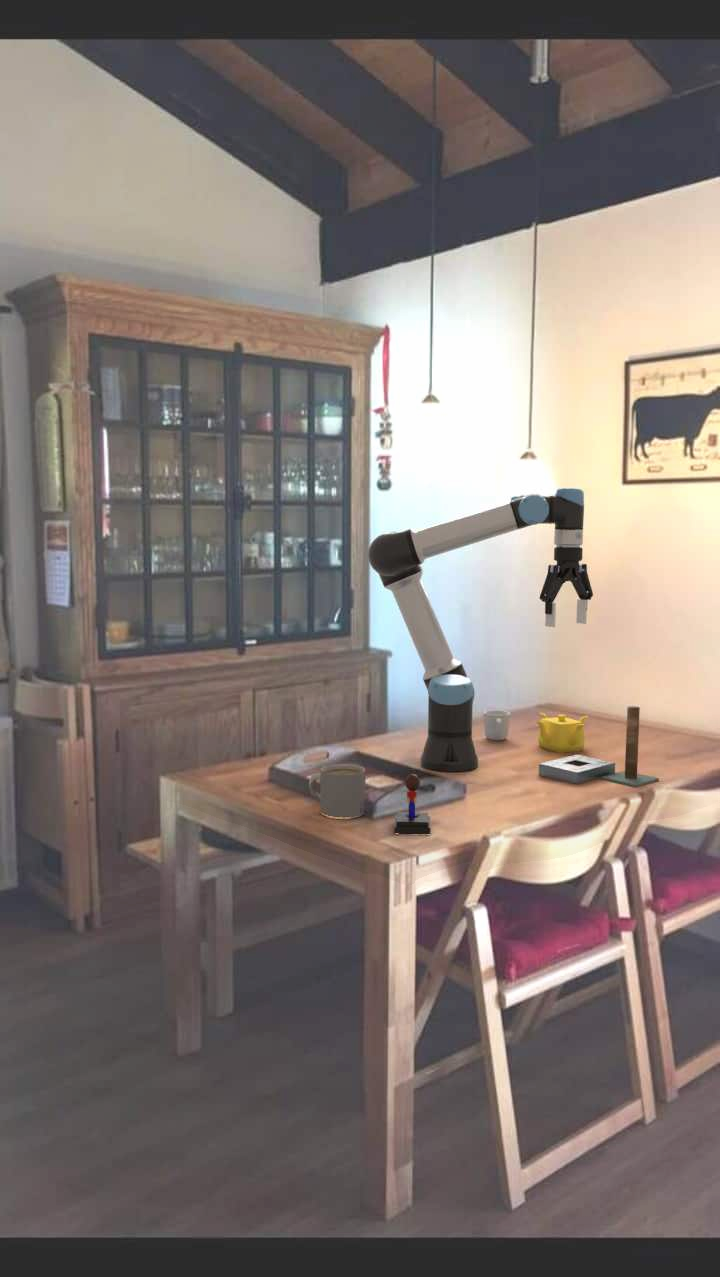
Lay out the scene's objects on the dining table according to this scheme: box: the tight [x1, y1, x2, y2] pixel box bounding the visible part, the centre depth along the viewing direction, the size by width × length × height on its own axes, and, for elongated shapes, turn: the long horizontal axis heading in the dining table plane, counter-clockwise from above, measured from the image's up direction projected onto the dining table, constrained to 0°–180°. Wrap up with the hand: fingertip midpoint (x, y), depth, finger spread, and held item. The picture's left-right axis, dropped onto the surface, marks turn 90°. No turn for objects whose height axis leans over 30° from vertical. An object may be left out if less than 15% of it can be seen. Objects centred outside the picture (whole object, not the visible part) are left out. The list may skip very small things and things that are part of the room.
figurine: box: [393, 773, 431, 835], centre depth 219 cm, size 8×8×12 cm
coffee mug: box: [308, 763, 366, 818], centre depth 232 cm, size 13×10×10 cm
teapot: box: [534, 712, 589, 754], centre depth 298 cm, size 15×14×10 cm
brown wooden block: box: [624, 705, 641, 779], centre depth 261 cm, size 3×3×18 cm
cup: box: [483, 709, 511, 741], centre depth 308 cm, size 11×8×8 cm
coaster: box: [601, 770, 660, 788], centre depth 262 cm, size 10×10×1 cm
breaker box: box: [538, 754, 616, 785], centre depth 267 cm, size 16×12×3 cm
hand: (566, 625), depth 281 cm, fingers open, 13 cm apart
